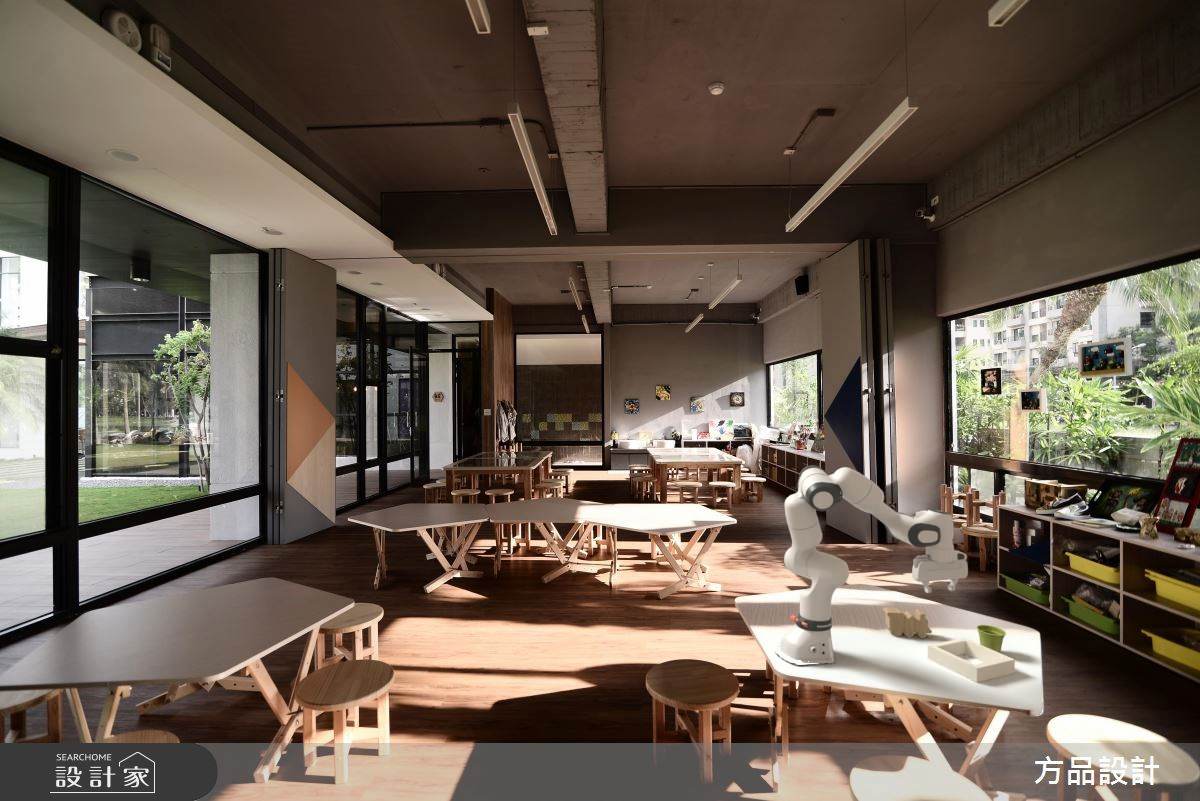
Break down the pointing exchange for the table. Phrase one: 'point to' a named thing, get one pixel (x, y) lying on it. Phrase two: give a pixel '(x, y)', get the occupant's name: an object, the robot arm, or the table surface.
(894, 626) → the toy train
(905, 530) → the robot arm
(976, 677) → the cream open tray
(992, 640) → the plant pot
